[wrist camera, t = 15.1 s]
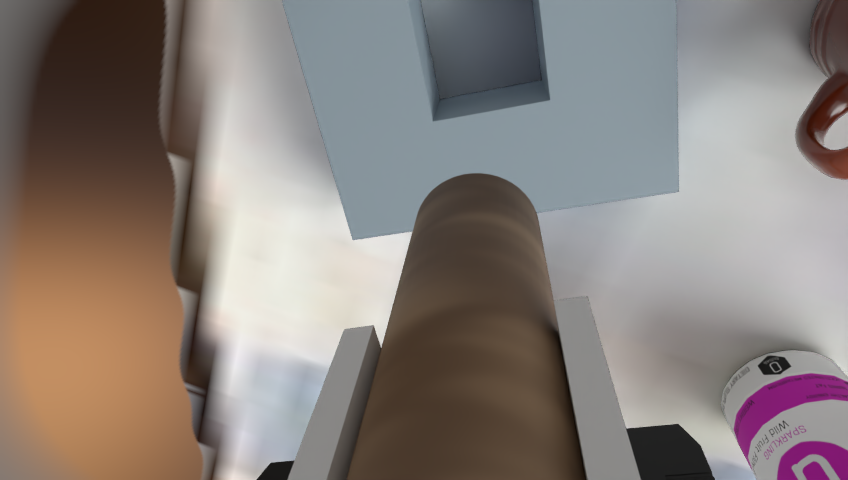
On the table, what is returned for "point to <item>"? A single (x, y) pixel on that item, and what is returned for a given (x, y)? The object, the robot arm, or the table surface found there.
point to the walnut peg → (471, 350)
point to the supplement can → (790, 416)
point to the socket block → (492, 107)
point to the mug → (827, 89)
